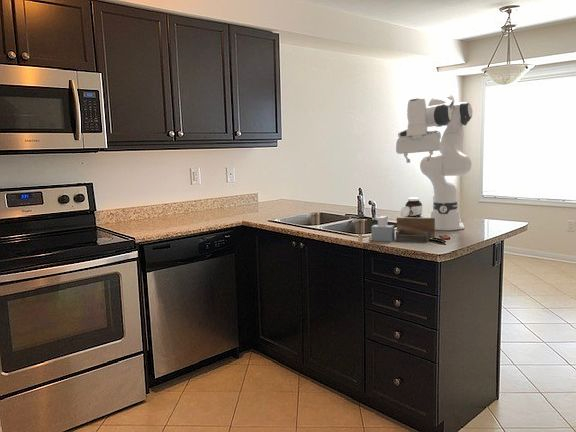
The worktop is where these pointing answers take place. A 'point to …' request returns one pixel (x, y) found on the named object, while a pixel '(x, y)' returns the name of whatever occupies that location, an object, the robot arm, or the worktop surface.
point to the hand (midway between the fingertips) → (418, 161)
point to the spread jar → (412, 208)
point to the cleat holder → (415, 229)
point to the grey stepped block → (383, 230)
